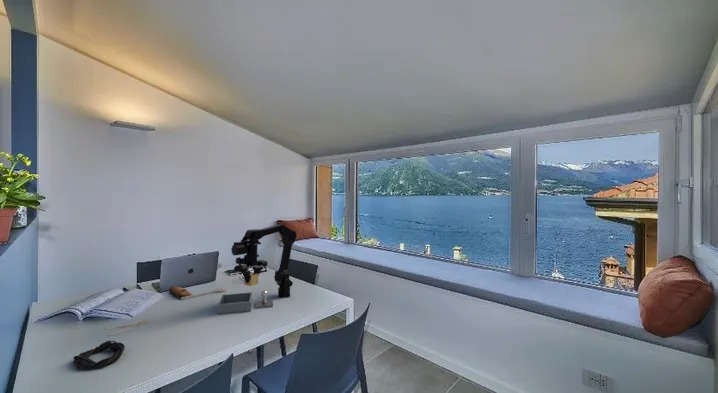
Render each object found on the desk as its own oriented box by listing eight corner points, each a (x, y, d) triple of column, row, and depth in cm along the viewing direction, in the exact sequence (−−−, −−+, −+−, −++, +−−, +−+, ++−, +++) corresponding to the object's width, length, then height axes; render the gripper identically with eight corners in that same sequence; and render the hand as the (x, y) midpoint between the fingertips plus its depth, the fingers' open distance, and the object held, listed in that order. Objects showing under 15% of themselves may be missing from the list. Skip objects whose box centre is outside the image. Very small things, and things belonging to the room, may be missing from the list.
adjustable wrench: (181, 301, 170) (181, 298, 170) (179, 298, 175) (179, 295, 175) (227, 292, 187) (227, 289, 187) (223, 289, 191) (223, 286, 191)
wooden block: (251, 282, 166) (251, 272, 166) (258, 283, 164) (258, 273, 164) (243, 284, 161) (244, 274, 161) (250, 286, 159) (251, 275, 159)
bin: (252, 301, 171) (252, 292, 171) (250, 311, 156) (250, 301, 156) (222, 303, 166) (222, 294, 166) (218, 314, 151) (218, 304, 151)
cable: (128, 362, 109) (128, 350, 109) (75, 379, 99) (75, 366, 99) (119, 345, 121) (119, 334, 121) (71, 358, 111) (71, 347, 111)
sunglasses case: (194, 295, 178) (188, 287, 175) (183, 304, 174) (176, 296, 171) (183, 289, 190) (177, 281, 187) (173, 297, 186) (166, 289, 183)
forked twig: (105, 326, 134) (145, 316, 145) (105, 329, 134) (145, 319, 145) (108, 333, 127) (150, 322, 138) (108, 337, 127) (150, 326, 138)
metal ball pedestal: (272, 301, 171) (272, 287, 171) (272, 307, 162) (273, 292, 162) (256, 302, 168) (256, 288, 168) (255, 308, 160) (255, 293, 159)
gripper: (254, 249, 175) (253, 275, 175) (227, 254, 158) (226, 283, 158) (268, 251, 170) (267, 278, 170) (242, 256, 153) (241, 287, 153)
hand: (251, 281), depth 163 cm, fingers closed on wooden block, 5 cm apart
